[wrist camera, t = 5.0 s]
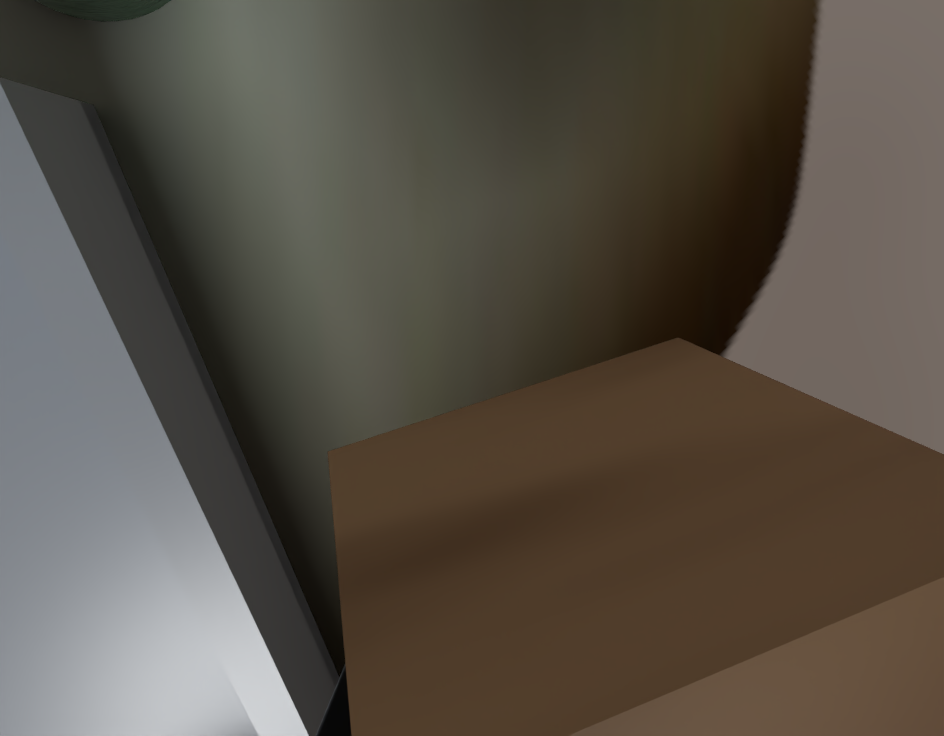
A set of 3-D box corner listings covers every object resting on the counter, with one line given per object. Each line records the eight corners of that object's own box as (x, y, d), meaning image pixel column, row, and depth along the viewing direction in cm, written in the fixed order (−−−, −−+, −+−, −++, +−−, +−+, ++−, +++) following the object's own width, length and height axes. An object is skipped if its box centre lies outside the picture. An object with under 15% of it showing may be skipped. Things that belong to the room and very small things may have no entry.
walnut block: (715, 616, 11) (1035, 962, 6) (427, 732, 10) (538, 1236, 5) (677, 337, 9) (1084, 517, 4) (327, 451, 8) (358, 824, 3)
